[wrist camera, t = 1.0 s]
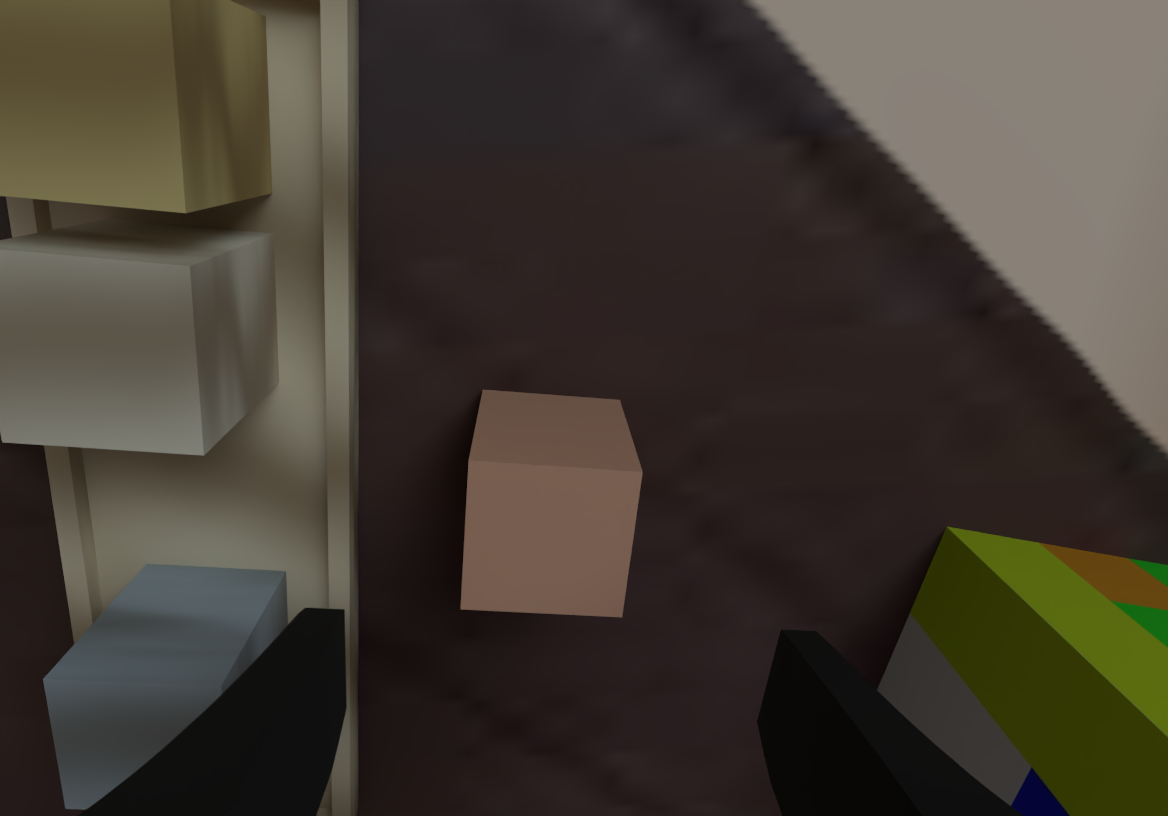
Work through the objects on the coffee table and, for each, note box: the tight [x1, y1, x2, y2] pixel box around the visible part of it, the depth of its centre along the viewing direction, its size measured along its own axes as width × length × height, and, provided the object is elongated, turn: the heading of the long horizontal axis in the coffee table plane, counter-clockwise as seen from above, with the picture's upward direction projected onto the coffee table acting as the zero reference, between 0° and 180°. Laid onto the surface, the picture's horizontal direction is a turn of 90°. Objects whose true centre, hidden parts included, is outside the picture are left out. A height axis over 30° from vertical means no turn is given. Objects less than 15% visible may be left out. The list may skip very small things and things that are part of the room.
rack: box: [0, 0, 359, 816], centre depth 19 cm, size 26×8×6 cm, turn 174°
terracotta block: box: [461, 390, 642, 617], centre depth 20 cm, size 4×4×5 cm
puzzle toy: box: [877, 527, 1168, 816], centre depth 22 cm, size 10×10×10 cm
